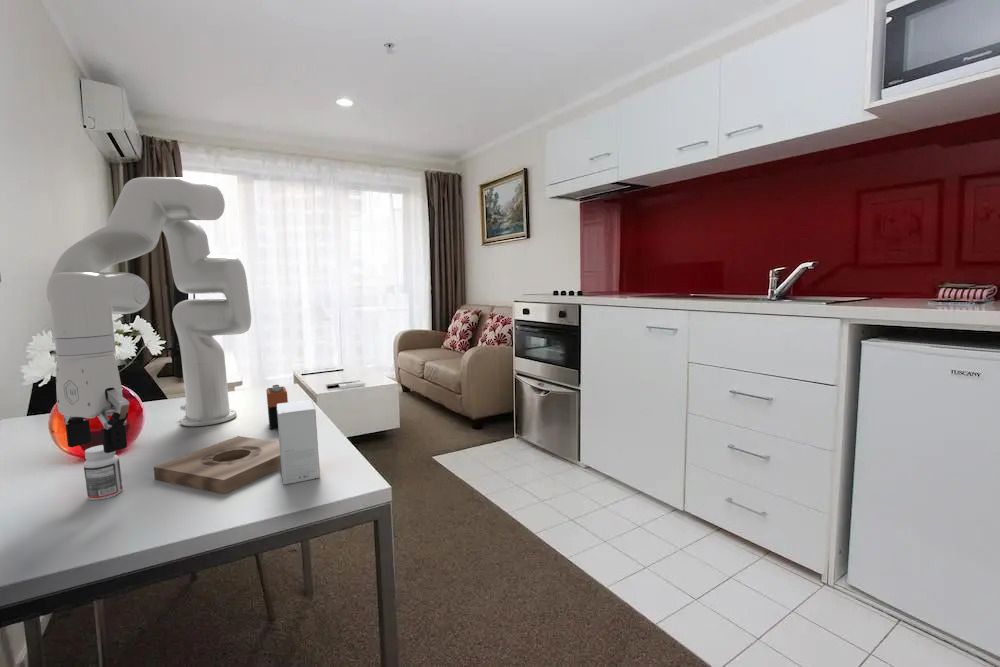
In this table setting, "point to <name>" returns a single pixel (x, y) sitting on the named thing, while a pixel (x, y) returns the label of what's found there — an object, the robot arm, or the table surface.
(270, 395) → the battery
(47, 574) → the table surface
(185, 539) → the table surface
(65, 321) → the robot arm
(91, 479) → the pill bottle
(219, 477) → the socket block
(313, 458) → the small box
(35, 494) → the table surface
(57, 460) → the table surface
